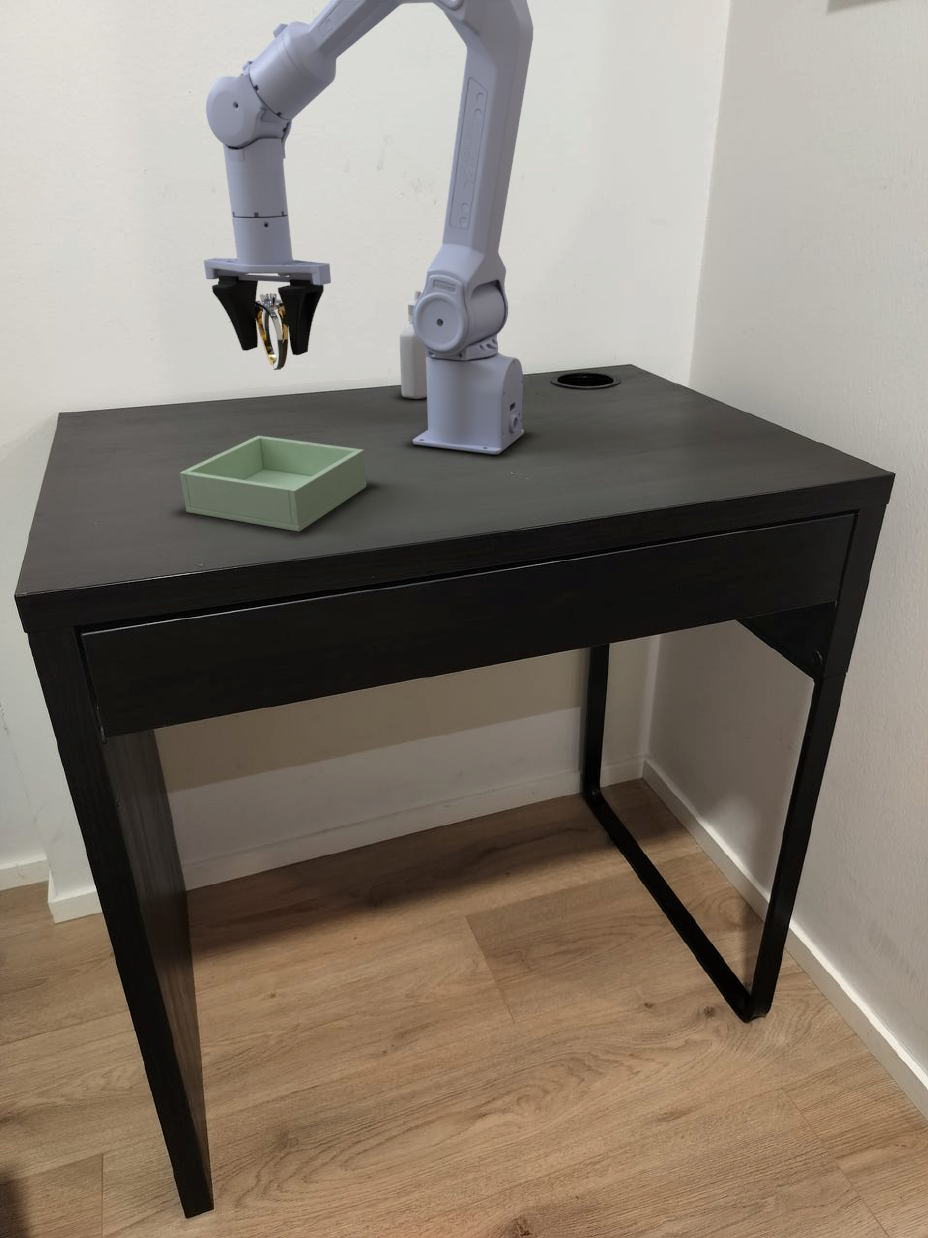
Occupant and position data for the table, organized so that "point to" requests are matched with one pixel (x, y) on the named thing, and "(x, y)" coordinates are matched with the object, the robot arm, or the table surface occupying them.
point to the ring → (282, 337)
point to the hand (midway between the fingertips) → (275, 351)
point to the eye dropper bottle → (412, 359)
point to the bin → (274, 482)
